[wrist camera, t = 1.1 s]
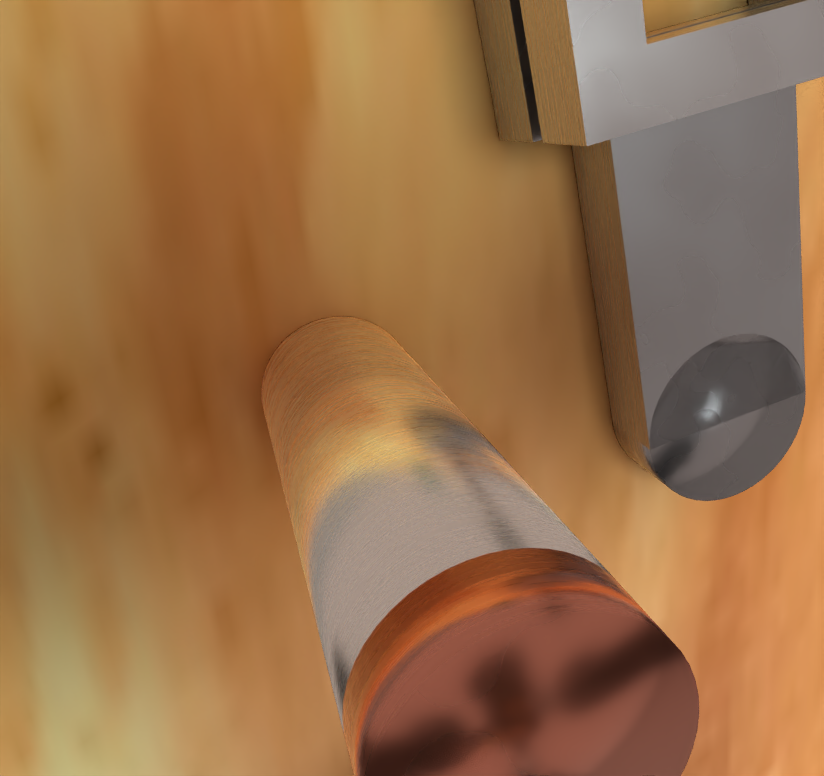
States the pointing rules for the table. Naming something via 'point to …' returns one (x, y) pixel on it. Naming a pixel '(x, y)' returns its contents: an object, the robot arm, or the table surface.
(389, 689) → the link pin
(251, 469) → the table surface
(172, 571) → the table surface
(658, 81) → the strap
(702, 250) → the lower strap
